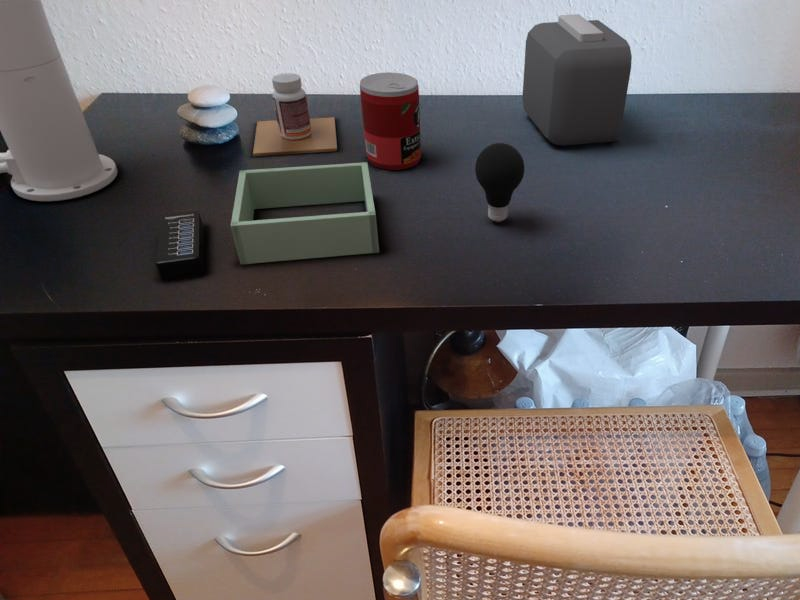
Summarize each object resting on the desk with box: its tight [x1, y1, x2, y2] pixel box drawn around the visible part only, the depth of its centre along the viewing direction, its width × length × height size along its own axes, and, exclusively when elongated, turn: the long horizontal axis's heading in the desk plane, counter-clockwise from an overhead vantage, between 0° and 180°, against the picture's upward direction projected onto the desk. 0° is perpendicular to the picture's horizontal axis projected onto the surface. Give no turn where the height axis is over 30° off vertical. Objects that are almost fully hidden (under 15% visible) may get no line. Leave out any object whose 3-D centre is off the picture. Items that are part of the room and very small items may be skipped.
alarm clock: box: [521, 13, 633, 146], centre depth 100 cm, size 16×11×16 cm
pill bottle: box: [271, 72, 311, 140], centre depth 98 cm, size 5×5×8 cm
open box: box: [230, 161, 380, 265], centre depth 79 cm, size 16×14×5 cm
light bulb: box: [474, 142, 525, 224], centre depth 79 cm, size 6×6×10 cm
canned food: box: [359, 72, 422, 171], centre depth 92 cm, size 8×8×11 cm
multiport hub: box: [154, 210, 205, 282], centre depth 75 cm, size 4×11×2 cm, turn 17°
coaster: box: [252, 116, 338, 157], centre depth 101 cm, size 12×12×1 cm
